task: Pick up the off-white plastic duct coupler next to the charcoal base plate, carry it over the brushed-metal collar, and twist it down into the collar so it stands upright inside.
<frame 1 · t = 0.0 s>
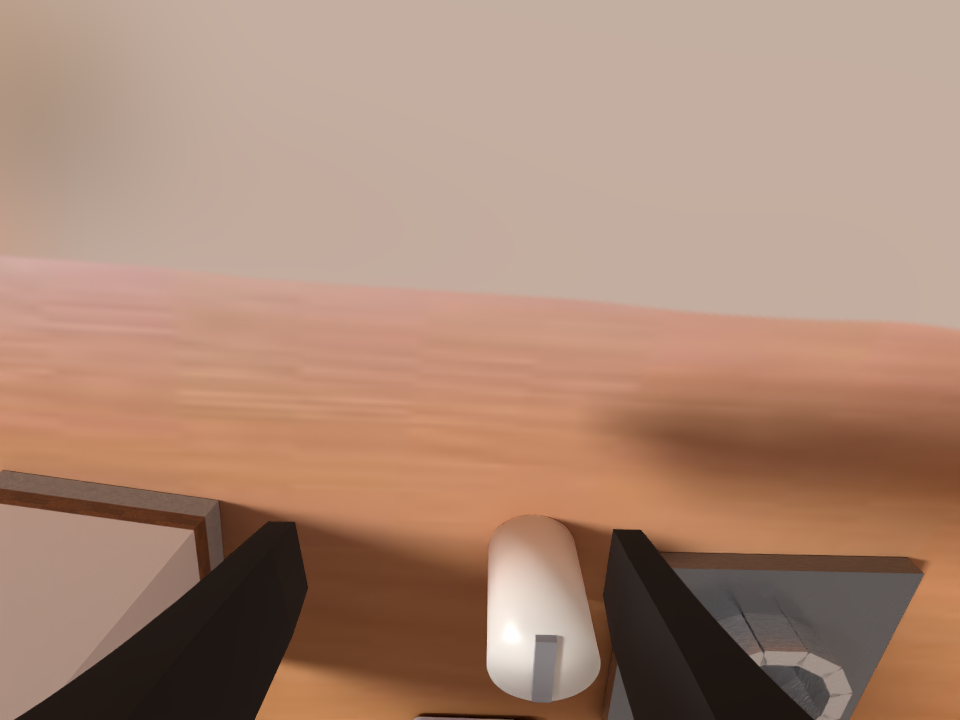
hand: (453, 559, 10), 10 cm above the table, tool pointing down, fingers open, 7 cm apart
duct coupler: (531, 549, 23), on the table
duct base: (736, 646, 26), on the table
tall hollow white pillar: (131, 565, 25), on the table
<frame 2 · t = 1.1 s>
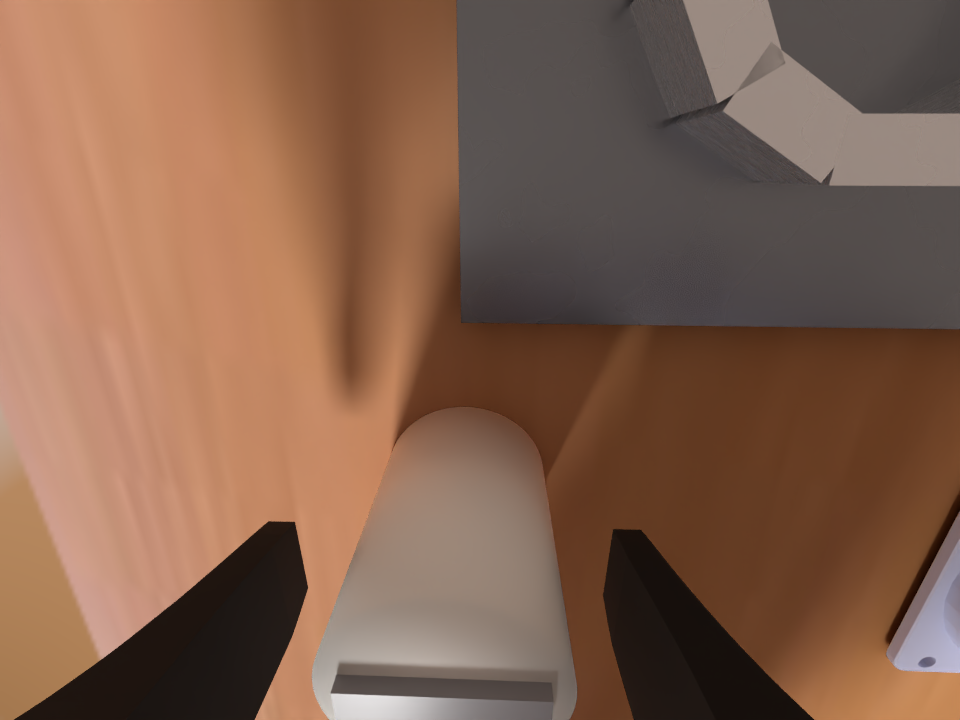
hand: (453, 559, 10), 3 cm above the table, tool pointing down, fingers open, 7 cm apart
duct coupler: (466, 474, 13), on the table
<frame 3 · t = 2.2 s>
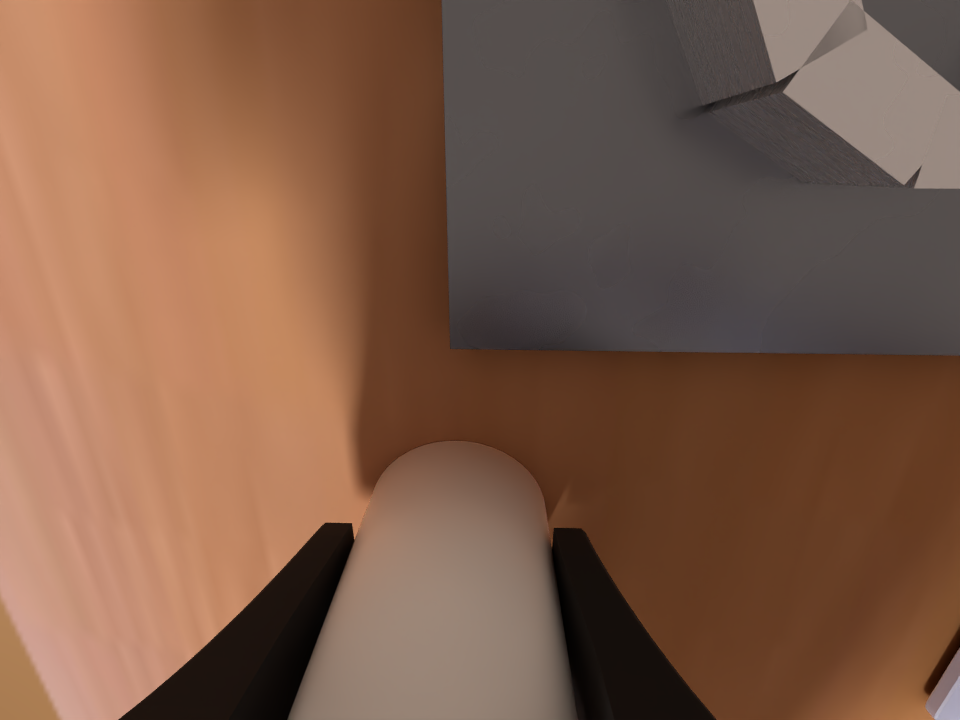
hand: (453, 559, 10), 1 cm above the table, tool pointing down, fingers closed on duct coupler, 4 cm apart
duct coupler: (458, 514, 12), on the table, touching gripper
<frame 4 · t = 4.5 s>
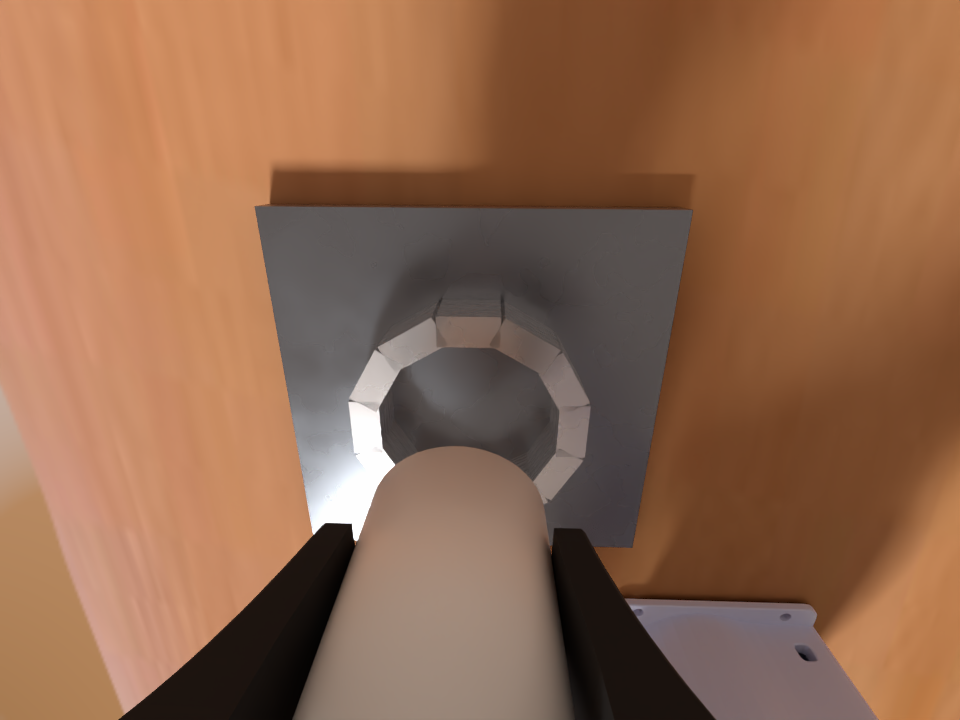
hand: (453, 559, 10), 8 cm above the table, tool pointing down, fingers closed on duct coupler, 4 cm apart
duct coupler: (457, 518, 12), point 7 cm above the table, touching gripper
duct base: (472, 390, 18), on the table
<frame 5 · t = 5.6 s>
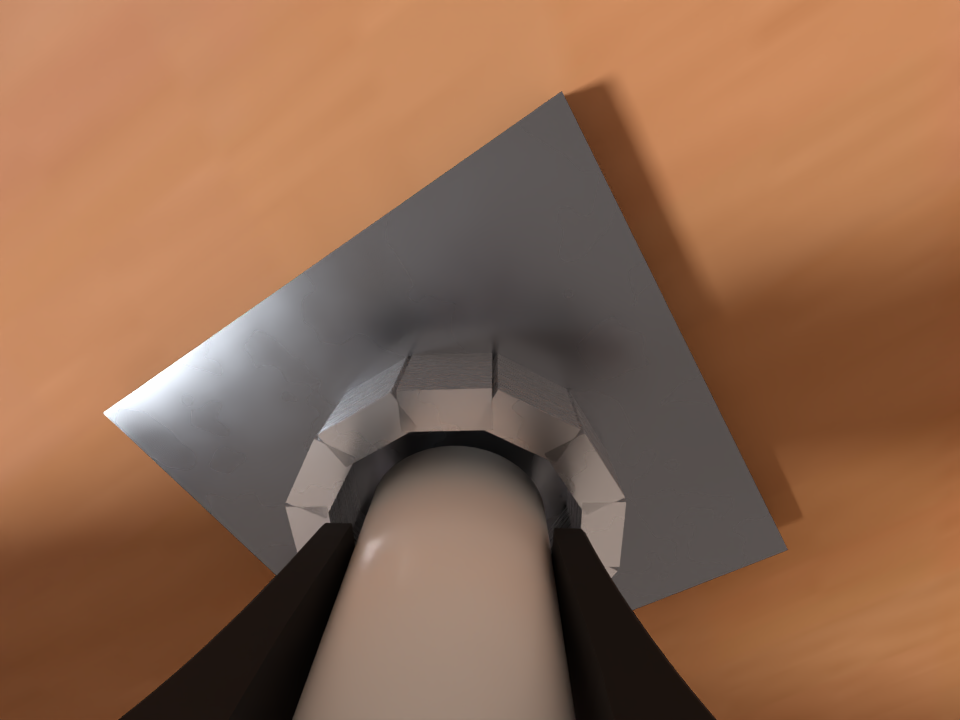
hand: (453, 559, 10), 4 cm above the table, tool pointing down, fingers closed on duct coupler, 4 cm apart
duct coupler: (458, 518, 12), point 2 cm above the table, touching gripper
duct base: (463, 463, 14), on the table
when the fingers open (3 cm above the table, at t = 6.6 s): duct coupler stays where it is, resting on duct base.
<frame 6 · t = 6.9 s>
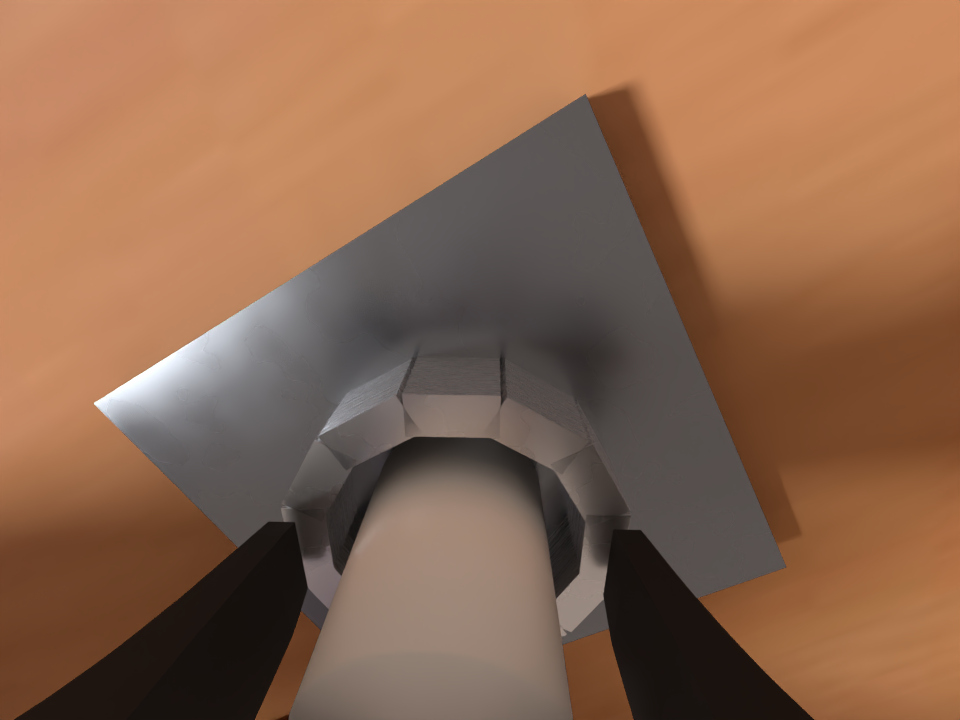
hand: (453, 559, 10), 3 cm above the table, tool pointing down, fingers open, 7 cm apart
duct coupler: (459, 494, 13), point 1 cm above the table, touching duct base
duct base: (463, 468, 13), on the table
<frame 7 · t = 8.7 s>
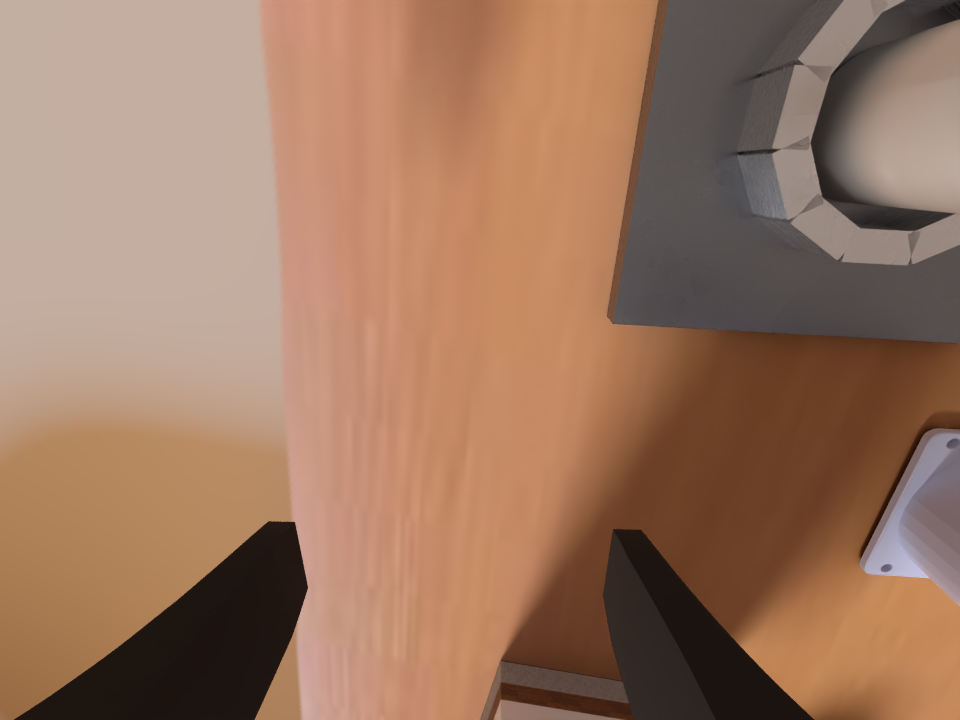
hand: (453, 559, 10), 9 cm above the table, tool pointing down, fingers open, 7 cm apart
duct coupler: (876, 126, 14), point 1 cm above the table, touching duct base
duct base: (851, 125, 15), on the table
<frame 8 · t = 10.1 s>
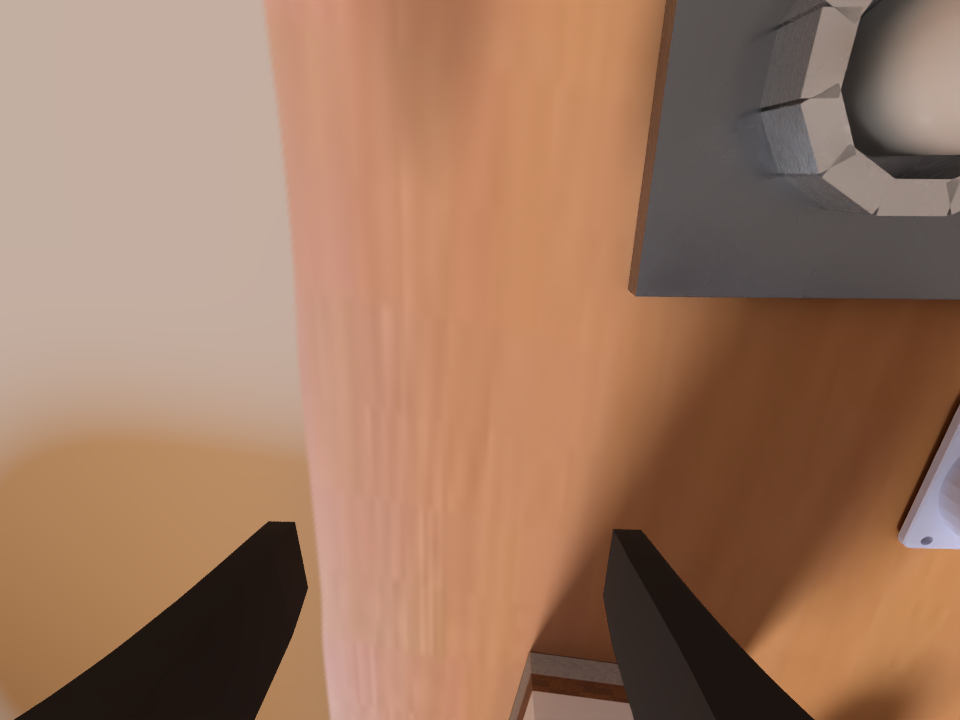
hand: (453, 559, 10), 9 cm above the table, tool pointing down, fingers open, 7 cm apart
duct coupler: (906, 73, 13), point 1 cm above the table, touching duct base
duct base: (877, 76, 14), on the table
tall hollow white pillar: (602, 717, 28), on the table
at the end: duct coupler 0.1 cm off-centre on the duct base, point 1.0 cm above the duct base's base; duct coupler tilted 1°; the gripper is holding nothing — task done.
